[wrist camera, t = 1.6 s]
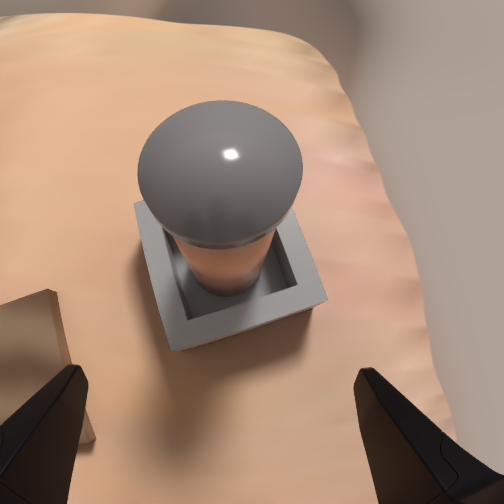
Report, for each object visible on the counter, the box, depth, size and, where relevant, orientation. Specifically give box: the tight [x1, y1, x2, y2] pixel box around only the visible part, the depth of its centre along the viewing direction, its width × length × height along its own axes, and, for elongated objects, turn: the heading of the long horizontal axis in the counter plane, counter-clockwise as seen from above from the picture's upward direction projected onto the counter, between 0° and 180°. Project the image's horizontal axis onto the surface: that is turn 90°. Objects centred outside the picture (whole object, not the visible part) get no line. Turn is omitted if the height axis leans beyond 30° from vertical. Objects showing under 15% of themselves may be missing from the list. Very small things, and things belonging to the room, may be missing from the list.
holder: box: [134, 200, 328, 351], centre depth 22 cm, size 10×10×4 cm
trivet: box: [0, 289, 96, 444], centre depth 19 cm, size 12×12×2 cm
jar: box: [138, 101, 303, 297], centre depth 17 cm, size 6×6×13 cm
